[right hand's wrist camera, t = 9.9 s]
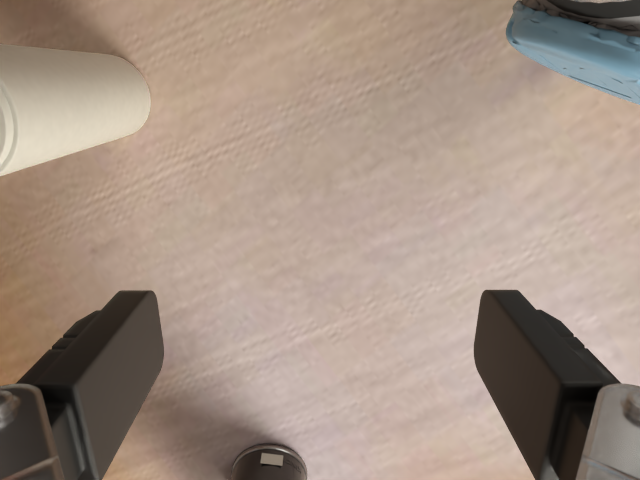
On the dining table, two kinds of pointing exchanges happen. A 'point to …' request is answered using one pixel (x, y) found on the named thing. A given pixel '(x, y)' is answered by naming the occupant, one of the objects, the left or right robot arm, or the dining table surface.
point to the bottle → (64, 103)
